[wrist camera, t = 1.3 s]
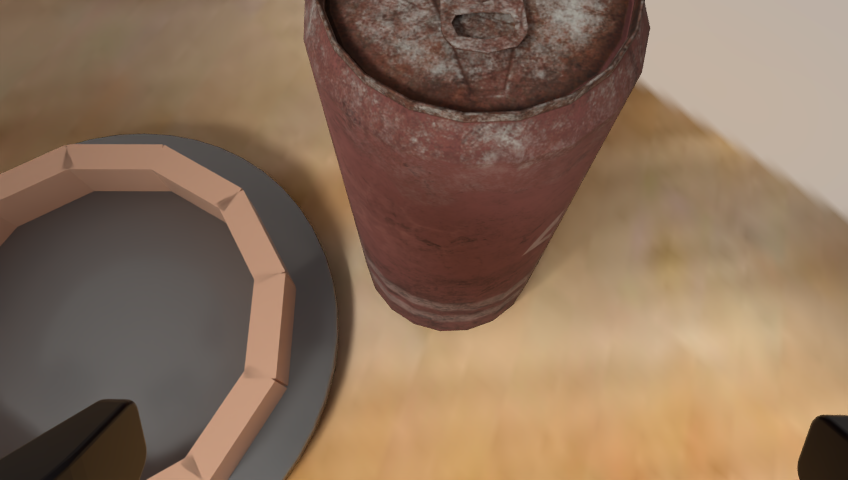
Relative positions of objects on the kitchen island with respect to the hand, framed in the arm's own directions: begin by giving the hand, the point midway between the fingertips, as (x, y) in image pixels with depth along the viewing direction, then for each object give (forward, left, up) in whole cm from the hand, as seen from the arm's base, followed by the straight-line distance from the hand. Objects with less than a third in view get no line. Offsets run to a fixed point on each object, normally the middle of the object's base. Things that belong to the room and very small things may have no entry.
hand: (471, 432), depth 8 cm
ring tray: (+9, +8, -13) cm, 18 cm away
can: (+6, -4, -13) cm, 15 cm away
